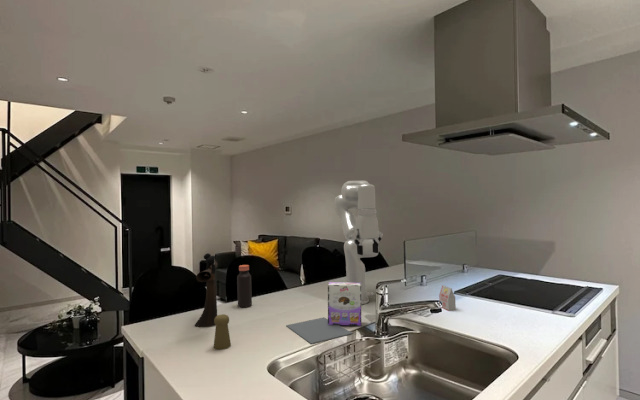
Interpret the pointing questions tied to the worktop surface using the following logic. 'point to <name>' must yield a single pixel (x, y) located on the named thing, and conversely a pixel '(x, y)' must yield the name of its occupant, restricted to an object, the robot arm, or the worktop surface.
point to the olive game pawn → (221, 332)
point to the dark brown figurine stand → (208, 292)
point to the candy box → (344, 303)
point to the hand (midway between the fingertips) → (367, 253)
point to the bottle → (244, 287)
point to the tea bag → (447, 298)
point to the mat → (318, 330)
